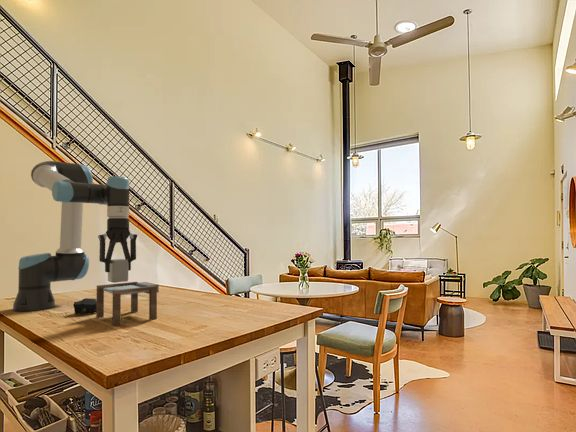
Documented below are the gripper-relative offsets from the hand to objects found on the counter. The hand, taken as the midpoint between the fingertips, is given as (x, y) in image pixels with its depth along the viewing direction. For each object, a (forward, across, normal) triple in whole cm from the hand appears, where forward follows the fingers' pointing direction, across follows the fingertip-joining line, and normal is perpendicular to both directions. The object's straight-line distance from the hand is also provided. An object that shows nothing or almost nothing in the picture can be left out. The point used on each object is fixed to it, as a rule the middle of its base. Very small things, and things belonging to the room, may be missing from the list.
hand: (118, 280), depth 140 cm
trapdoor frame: (+14, +3, 0) cm, 15 cm away
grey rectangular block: (0, 0, 0) cm, 0 cm away
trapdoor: (+5, +5, 0) cm, 8 cm away
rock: (+15, -4, +21) cm, 26 cm away
